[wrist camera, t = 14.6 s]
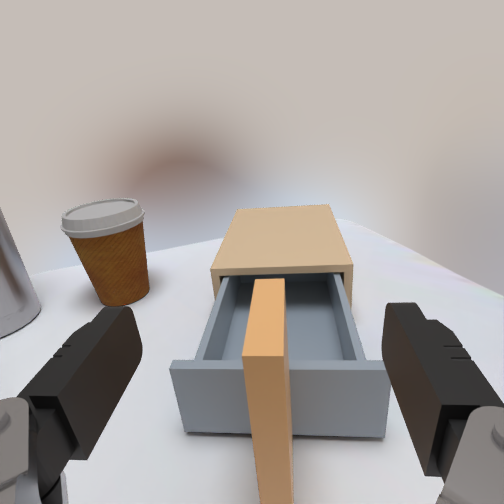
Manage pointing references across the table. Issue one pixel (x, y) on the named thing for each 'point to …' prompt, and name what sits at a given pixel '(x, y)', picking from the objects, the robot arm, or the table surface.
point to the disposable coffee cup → (111, 247)
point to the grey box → (281, 371)
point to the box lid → (283, 245)
